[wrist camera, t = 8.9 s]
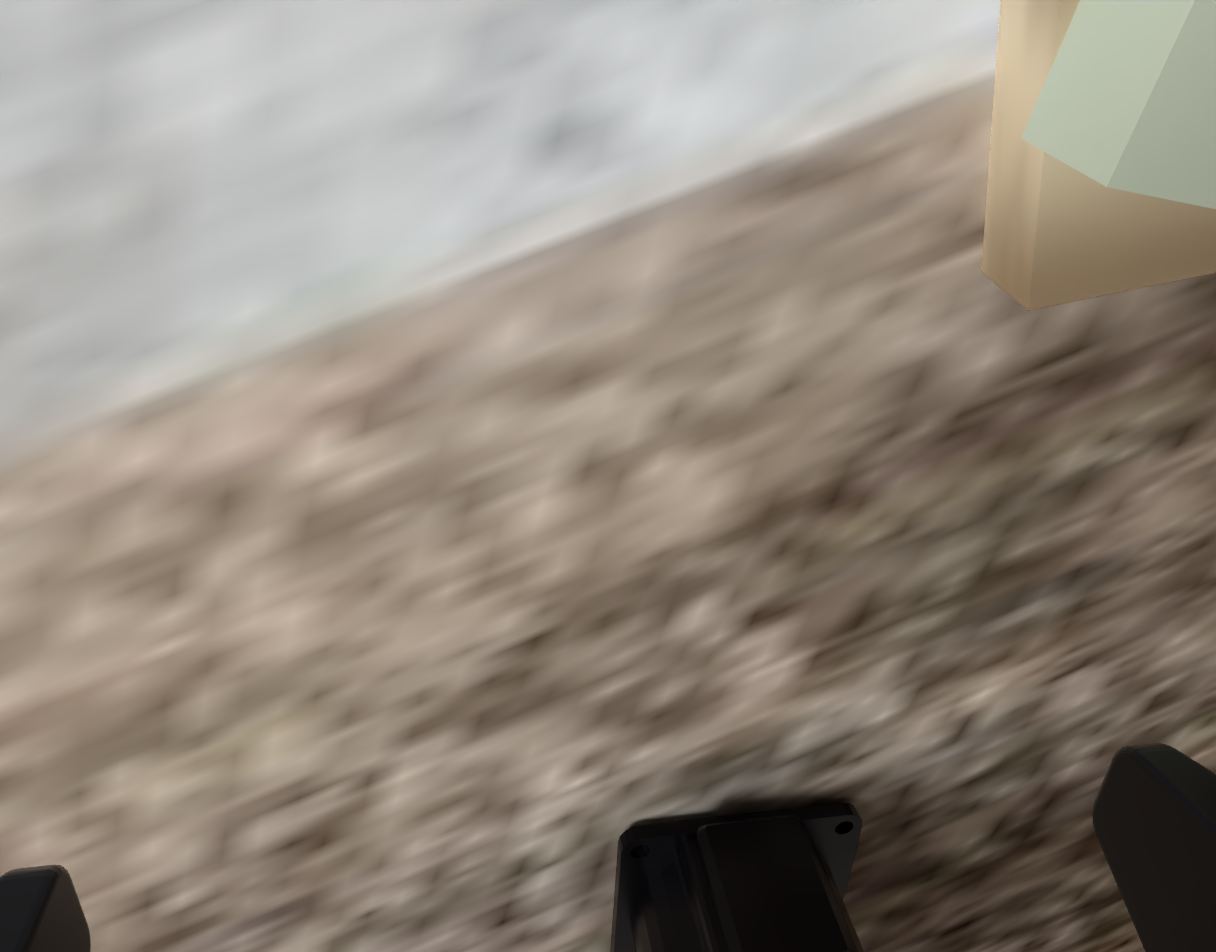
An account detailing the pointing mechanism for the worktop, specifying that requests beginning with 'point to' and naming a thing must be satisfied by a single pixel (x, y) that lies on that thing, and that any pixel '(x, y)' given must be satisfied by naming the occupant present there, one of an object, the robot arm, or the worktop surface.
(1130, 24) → the sage slab
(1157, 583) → the worktop surface
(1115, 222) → the maple slab
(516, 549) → the worktop surface
